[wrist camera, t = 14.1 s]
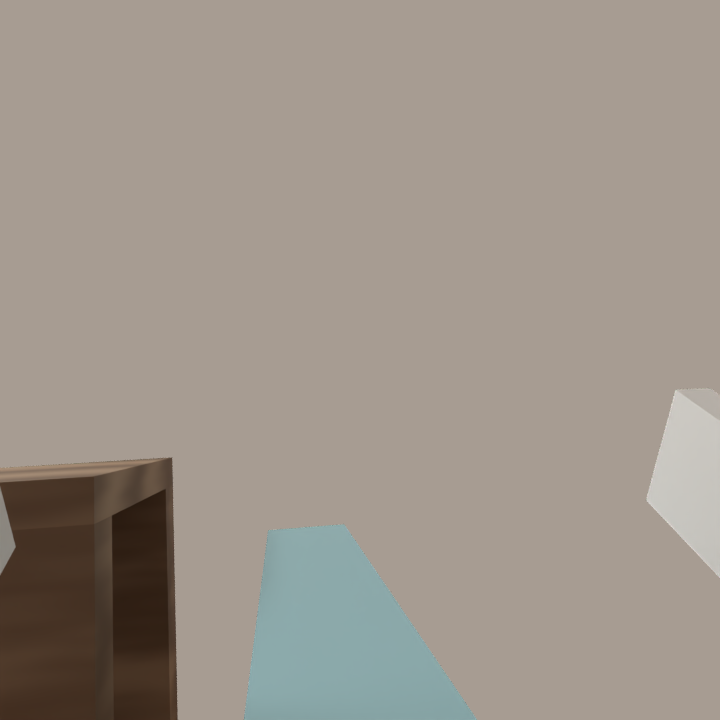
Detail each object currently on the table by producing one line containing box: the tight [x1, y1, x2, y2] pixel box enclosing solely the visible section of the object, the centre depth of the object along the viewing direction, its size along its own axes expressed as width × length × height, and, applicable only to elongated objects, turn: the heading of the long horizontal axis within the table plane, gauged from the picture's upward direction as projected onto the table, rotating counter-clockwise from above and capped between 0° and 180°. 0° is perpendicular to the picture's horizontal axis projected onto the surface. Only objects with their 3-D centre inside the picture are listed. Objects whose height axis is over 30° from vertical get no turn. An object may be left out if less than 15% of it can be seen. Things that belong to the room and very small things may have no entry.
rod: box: [244, 524, 477, 720], centre depth 19 cm, size 24×4×4 cm, turn 8°
